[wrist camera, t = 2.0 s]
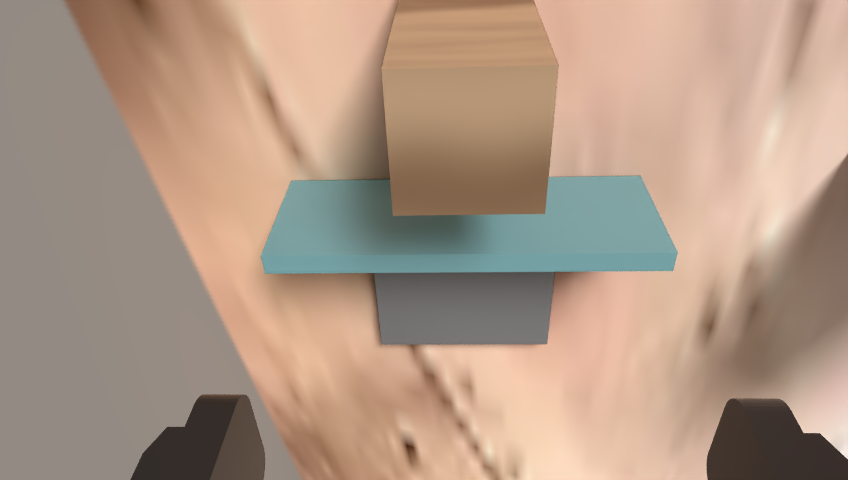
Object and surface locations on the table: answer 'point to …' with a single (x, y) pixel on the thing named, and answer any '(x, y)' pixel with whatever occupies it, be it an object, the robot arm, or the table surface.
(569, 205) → the teal board
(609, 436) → the table surface
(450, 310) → the dark gray upright panel
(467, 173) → the wooden block
